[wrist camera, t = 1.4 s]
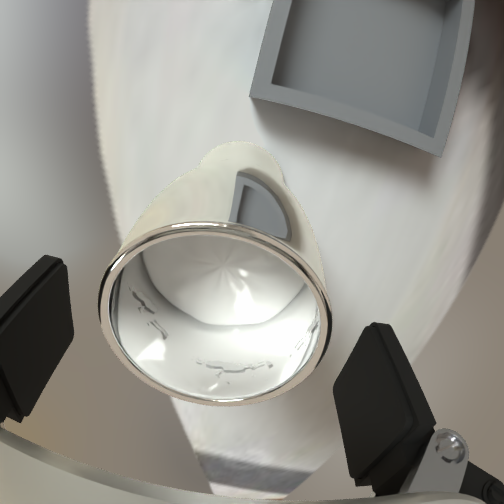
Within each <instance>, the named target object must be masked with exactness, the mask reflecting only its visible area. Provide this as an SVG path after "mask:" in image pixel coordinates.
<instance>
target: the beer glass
mask: <svg viewBox="0 0 504 504" xmlns="http://www.w3.org/2000/svg"><path fill="white" fill-rule="evenodd" d="M98 315H99V320H100V324H101V327H102V330H103V333H104V335H105V338H106V340H107V342H108V344H109V346H110V347H111V348H112V350H113V352H114V353H115V355H116V356H117V357H118V358H119V360H120V361H121V362H122V363H123V364H124V365H125V366H126V367H127V368H128V369H129V370H130V371H131V372H132V373H133V374H134V375H136V376H137V377H138V378H139V379H141V380H142V381H144V382H145V383H147V384H148V385H150V386H152V387H153V388H155V389H157V390H159V391H161V392H163V393H165V394H167V395H170V396H172V397H175V398H178V399H181V400H184V401H188V402H192V403H197V404H202V405H210V406H241V405H248V404H254V403H258V402H262V401H265V400H268V399H271V398H274V397H276V396H279V395H281V394H283V393H285V392H287V391H289V390H291V389H292V388H294V387H295V386H297V385H298V384H300V383H301V382H302V381H303V380H304V379H306V378H307V377H308V376H309V375H310V374H311V373H312V372H313V371H314V369H315V368H316V367H317V366H318V364H319V363H320V361H321V360H322V358H323V356H324V355H325V353H326V350H327V348H328V345H329V342H330V339H331V334H332V324H333V319H332V309H331V304H330V300H329V297H328V295H327V290H326V284H325V277H324V272H323V266H322V261H321V257H320V252H319V249H318V245H317V242H316V239H315V235H314V232H313V229H312V227H311V224H310V222H309V220H308V218H307V216H306V214H305V212H304V210H303V208H302V206H301V204H300V203H299V201H298V200H297V198H296V197H295V196H294V195H293V193H292V192H291V191H290V190H289V189H288V188H287V187H286V186H285V185H284V178H283V174H282V171H281V168H280V166H279V164H278V162H277V161H276V159H275V158H274V157H273V156H272V155H271V154H270V153H269V152H268V151H267V150H265V149H264V148H262V147H260V146H258V145H256V144H253V143H250V142H245V141H232V142H227V143H224V144H221V145H219V146H217V147H215V148H213V149H212V150H211V151H209V152H208V153H207V154H206V155H205V156H204V157H203V159H202V160H201V161H200V163H199V165H198V167H197V168H195V169H193V170H191V171H189V172H187V173H185V174H183V175H181V176H180V177H178V178H177V179H175V180H174V181H173V182H171V183H170V184H169V185H168V186H167V187H166V188H165V189H164V190H162V191H161V192H160V193H159V194H158V195H157V196H156V197H155V198H154V199H153V200H152V202H151V203H150V204H149V205H148V207H147V208H146V209H145V211H144V212H143V213H142V214H141V216H140V217H139V218H138V220H137V221H136V223H135V224H134V226H133V228H132V229H131V231H130V232H129V234H128V236H127V237H126V239H125V241H124V243H123V244H122V246H121V248H120V250H119V251H118V253H117V255H116V256H115V257H114V258H113V260H112V261H111V262H110V264H109V266H108V267H107V269H106V271H105V273H104V275H103V278H102V280H101V284H100V287H99V293H98Z"/></svg>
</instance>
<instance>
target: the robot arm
mask: <svg viewBox="0 0 504 504" xmlns="http://www.w3.org/2000/svg"><path fill="white" fill-rule="evenodd" d="M73 336H74V327H73V320H72V313H71V304H70V295H69V284H68V272H67V266H66V265H65V264H63V261H62V259H60V258H57V257H53V256H49V255H44V256H43V257H42V258H40V259H39V260H38V261H37V262H36V263H35V264H34V265H33V266H32V267H31V268H30V269H29V270H27V271H26V272H25V273H24V274H23V275H22V276H21V277H20V278H19V279H18V280H17V281H16V282H15V283H14V284H13V285H12V286H11V287H10V288H9V289H8V290H7V291H6V292H5V293H4V294H3V295H2V296H1V297H0V504H504V485H503V483H502V482H501V481H499V480H498V479H496V478H495V477H493V476H492V475H490V474H488V473H487V472H485V471H483V470H482V469H480V468H479V467H477V466H476V465H474V464H472V463H471V462H469V461H468V459H469V449H468V446H467V443H466V441H465V440H464V439H463V437H462V436H461V435H460V434H458V433H457V432H456V431H453V430H450V429H445V428H443V429H439V430H437V431H436V432H435V430H434V428H433V426H434V425H435V424H436V421H435V419H434V416H433V414H432V412H431V409H430V407H429V405H428V403H427V400H426V398H425V396H424V393H423V391H422V389H421V387H420V385H419V382H418V380H417V379H416V376H415V374H414V372H413V370H412V367H411V365H410V363H409V361H408V359H407V357H406V355H405V353H404V351H403V349H402V347H401V345H400V343H399V341H398V339H397V337H396V335H395V333H394V331H393V329H392V327H391V326H390V325H389V324H383V323H376V322H373V323H371V324H370V326H366V327H365V328H364V330H363V332H362V334H361V336H360V337H359V339H358V341H357V343H356V345H355V347H354V349H353V351H352V353H351V354H350V356H349V358H348V360H347V362H346V364H345V365H344V367H343V369H342V371H341V372H340V374H339V376H338V378H337V379H336V381H335V383H334V386H333V395H334V400H335V404H336V409H337V414H338V418H339V423H340V428H341V433H342V438H343V443H344V448H345V453H346V458H347V463H348V469H349V474H350V476H351V477H352V478H354V480H355V485H356V486H369V485H372V489H373V492H372V493H371V495H370V497H369V498H358V499H343V500H323V501H281V500H260V499H247V498H236V497H227V496H218V495H211V494H204V493H197V492H192V491H186V490H180V489H175V488H170V487H165V486H161V485H156V484H152V483H148V482H144V481H140V480H136V479H132V478H128V477H125V476H121V475H118V474H115V473H111V472H108V471H105V470H102V469H99V468H95V467H92V466H89V465H87V464H84V463H81V462H78V461H76V460H73V459H70V458H68V457H65V456H62V455H60V454H58V453H55V452H53V451H50V450H48V449H46V448H43V447H41V446H39V445H37V444H35V443H32V442H30V441H28V440H26V439H24V438H22V437H19V436H17V435H15V434H13V433H11V432H9V431H7V430H5V426H4V420H5V418H6V417H9V418H11V419H13V420H15V421H17V422H19V423H21V422H22V420H23V418H24V416H26V417H27V416H29V415H30V413H31V411H32V409H33V408H34V406H35V404H36V402H37V400H38V398H39V397H40V395H41V393H42V391H43V389H44V388H45V386H46V384H47V382H48V381H49V379H50V377H51V375H52V374H53V372H54V370H55V369H56V367H57V365H58V363H59V362H60V360H61V358H62V357H63V355H64V353H65V352H66V350H67V349H68V347H69V345H70V343H71V342H72V340H73Z"/></svg>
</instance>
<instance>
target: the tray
mask: <svg viewBox="0 0 504 504" xmlns="http://www.w3.org/2000/svg"><path fill="white" fill-rule="evenodd" d="M474 5H475V0H273V3H272V7H271V11H270V14H269V18H268V22H267V26H266V30H265V34H264V37H263V41H262V45H261V49H260V53H259V57H258V61H257V65H256V69H255V73H254V78H253V82H252V86H251V90H250V94H249V97H253V98H258V99H263V100H267V101H271V102H276V103H280V104H284V105H288V106H292V107H296V108H299V109H303V110H307V111H311V112H314V113H318V114H321V115H325V116H328V117H331V118H335V119H338V120H341V121H344V122H347V123H351V124H354V125H357V126H360V127H363V128H366V129H368V130H371V131H374V132H377V133H380V134H383V135H385V136H388V137H391V138H393V139H396V140H399V141H401V142H404V143H406V144H409V145H411V146H414V147H416V148H419V149H421V150H424V151H426V152H428V153H431V154H433V155H435V156H438V157H440V158H441V157H442V154H443V151H444V147H445V144H446V141H447V137H448V134H449V130H450V127H451V123H452V119H453V116H454V112H455V108H456V104H457V100H458V96H459V92H460V87H461V83H462V78H463V74H464V69H465V64H466V59H467V53H468V47H469V42H470V35H471V29H472V21H473V14H474Z"/></svg>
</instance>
